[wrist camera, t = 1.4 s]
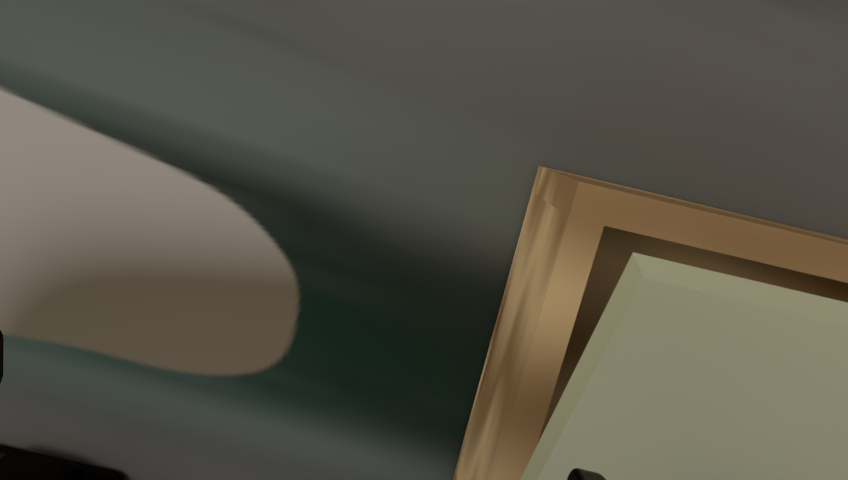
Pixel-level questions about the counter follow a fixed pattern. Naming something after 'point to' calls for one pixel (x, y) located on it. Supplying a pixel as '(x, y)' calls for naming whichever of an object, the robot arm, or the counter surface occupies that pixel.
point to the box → (608, 293)
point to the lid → (704, 383)
